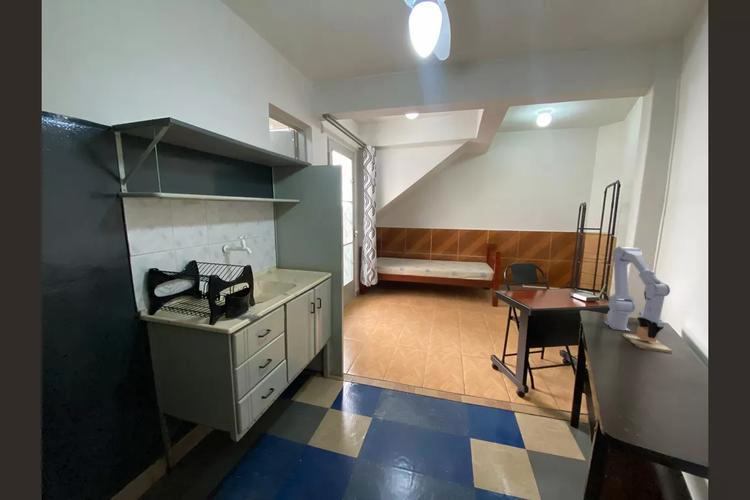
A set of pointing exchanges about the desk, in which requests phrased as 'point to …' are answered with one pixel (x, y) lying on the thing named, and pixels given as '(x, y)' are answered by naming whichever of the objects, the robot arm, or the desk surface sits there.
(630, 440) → the desk surface
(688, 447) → the desk surface
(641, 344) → the post board
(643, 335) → the square collar
